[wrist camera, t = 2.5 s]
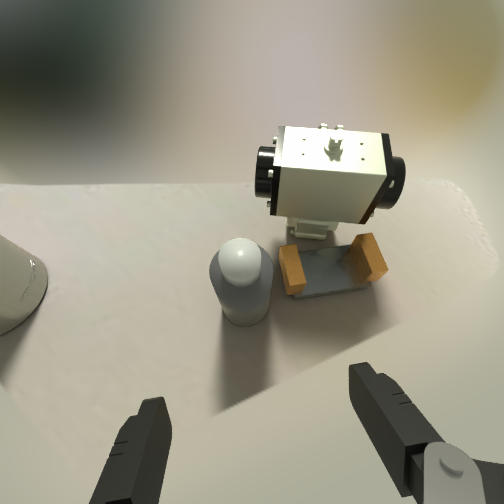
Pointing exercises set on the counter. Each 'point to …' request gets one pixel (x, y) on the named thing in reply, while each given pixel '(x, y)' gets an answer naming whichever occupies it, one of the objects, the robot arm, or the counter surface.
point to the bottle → (242, 281)
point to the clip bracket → (331, 268)
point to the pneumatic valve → (327, 177)
